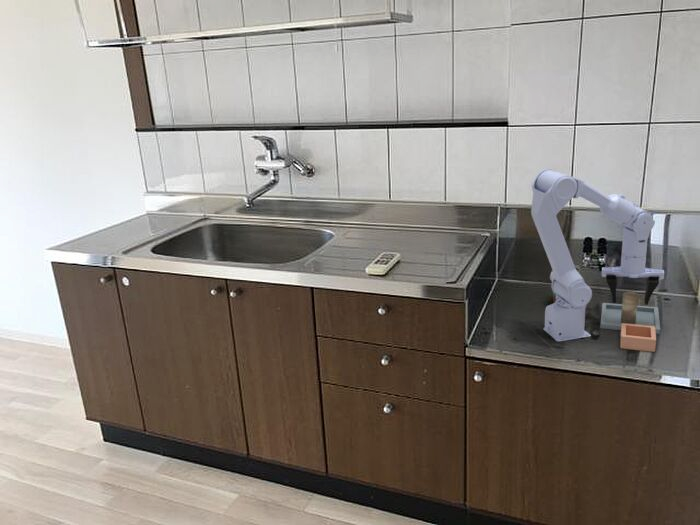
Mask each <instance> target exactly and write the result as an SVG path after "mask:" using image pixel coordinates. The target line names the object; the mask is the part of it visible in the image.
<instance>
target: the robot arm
mask: <svg viewBox="0 0 700 525" xmlns="http://www.w3.org/2000/svg"><path fill="white" fill-rule="evenodd" d="M531 189H532V192H533V194H532V202H531V210H530V214H531V218H532V220H533V224H534V225H535V228H536V231H537V232H538V235H539V237H540V238H539V239H540V241H541V243H542V247H543V249H544V251H545V253H546V257H547V259H548V262H549V264H550V266H551V272H552V270H553V272H552V273H551V272H550V275H551V278H552V281H551V290H552V293H553V292H554V293H555V294H556V302H555V303H551V304H549V305H547V306H546V307H545V310H544V327H543V330H544V331H545V332H546V333H547V334H548V335H549V336H551V338H553V339H554V340H555V341H556V342H563V341H565V342H566V341H570V340H577V339H581V338H587V337H591V336H592V335H591V334H590V332H588V331H586V330H585V320H586V307H587V305H588V303H590V301H591V299H592V297H593V291H592V288H591V287H590V286H589V285H587V283H586V282H585V279H584V278H583V276H582V275H581V274H580V272H579V273H578V271H577V270H576V269H575V266H574V265H575V264H574V261H573V258H572V256H571V253H570V249H569V247H568V244H567V241H566V239H565V236H564V234H563V231H562V228H561V225H560V222H559V219H558V218H557V216H558V214H559V212H561V211H562V209H563V208H564V207H565V206H566V205H567V204H568V203H569V202H570V201H571V200H572V199H578V198H582V199H583V200H585V201H588V202H590V203H592V204H594V205H595V206H598V207H599V212H600V213H601V215H603V216H605V217H606V218H608V219H610V220H611V221H614V222H615V223H616V224H619V226H621V227H623V230H622V232H623V233H622V241H621V242H622V243H621V244H622V245H621V258H620V266H609V267H601V277H602V278H605V279H606V283H607V285H608V287H609V290H610V293H611V296H612V300H611V301H612V304H617V283H618V282H617V280H618V279H617V277H622V278H623V277H624V278H625V277H626V278H630V279H631V278H632V279H638V278H641V279H642V278H643V279H644V278H645V280H646V282H645V292H644V298H643V300H644V301H643V303H644V306H648V305H649V302H650V299H651V296H652V295H653V293H654V292H655V290H656V289H657V288H658V287H659V284H660V280H664V279H665V270H664V269H657V268H650V267H649V268H648V267H646V262H647V261H646V260H647V250H648V249H647V248H648V240H649V238H650V233H651V231H652V230H653V228H654V226H655V223H656V220H655V219H654V217H653V214H652V213H651V212H650V211H648V210H646V209H642V208H640V205H639V204H638V203H636V202H630V201H629V200H626V196H625V195H623V194H622V193H621V194H620V193H618V194H616V193H612V194H609V195H607V194H605V193H604V192H603V191H600V190H599V189H597V188H596V187H595V186H593V185H591V184H589V183H588V182H586V181H585V180H582V179H578V178H576V177H574V176H572V175H568V174H564V173H562V172H557V171H556V170H554V169H550V168H547V169H543V170H541V171H540V172H539V173H538V174H537V176H536V177H535V179H534V180H533V182H532V184H531Z"/></svg>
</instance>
